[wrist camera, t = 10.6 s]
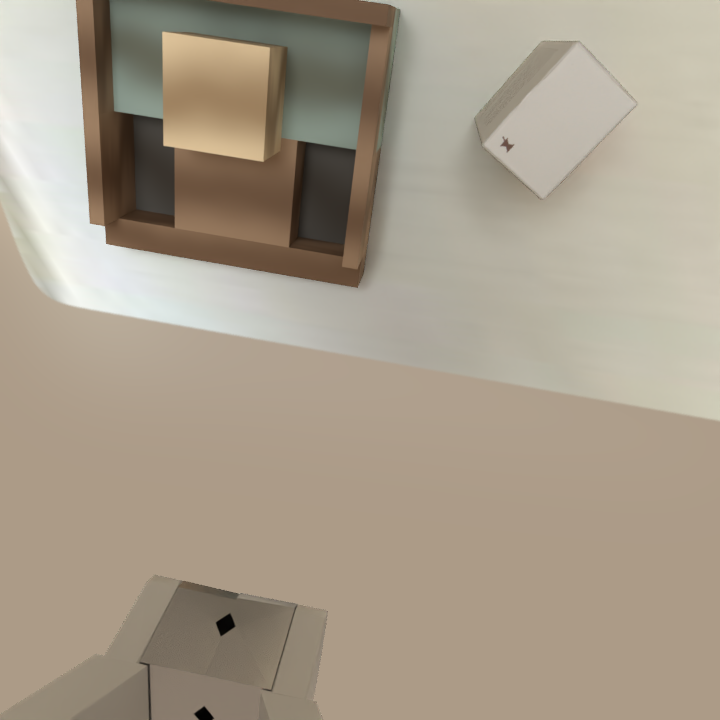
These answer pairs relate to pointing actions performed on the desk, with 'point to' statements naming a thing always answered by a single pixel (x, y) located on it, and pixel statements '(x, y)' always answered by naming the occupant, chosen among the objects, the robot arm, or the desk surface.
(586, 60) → the skincare box
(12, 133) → the desk surface
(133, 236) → the box
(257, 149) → the maple block
